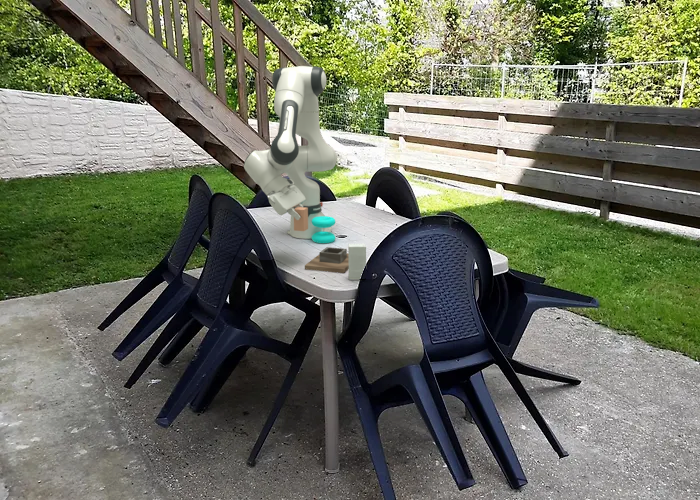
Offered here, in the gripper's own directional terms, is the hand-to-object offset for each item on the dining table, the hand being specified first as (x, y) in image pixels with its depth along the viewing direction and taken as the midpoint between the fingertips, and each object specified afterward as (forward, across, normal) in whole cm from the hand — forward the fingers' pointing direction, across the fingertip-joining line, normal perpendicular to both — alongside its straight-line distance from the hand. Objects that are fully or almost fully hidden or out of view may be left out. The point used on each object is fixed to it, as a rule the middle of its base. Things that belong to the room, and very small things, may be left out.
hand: (302, 217), depth 234 cm
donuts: (+10, +33, +16) cm, 38 cm away
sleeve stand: (+20, +3, +5) cm, 21 cm away
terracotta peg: (+3, 0, +4) cm, 5 cm away
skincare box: (+30, -11, -5) cm, 32 cm away
